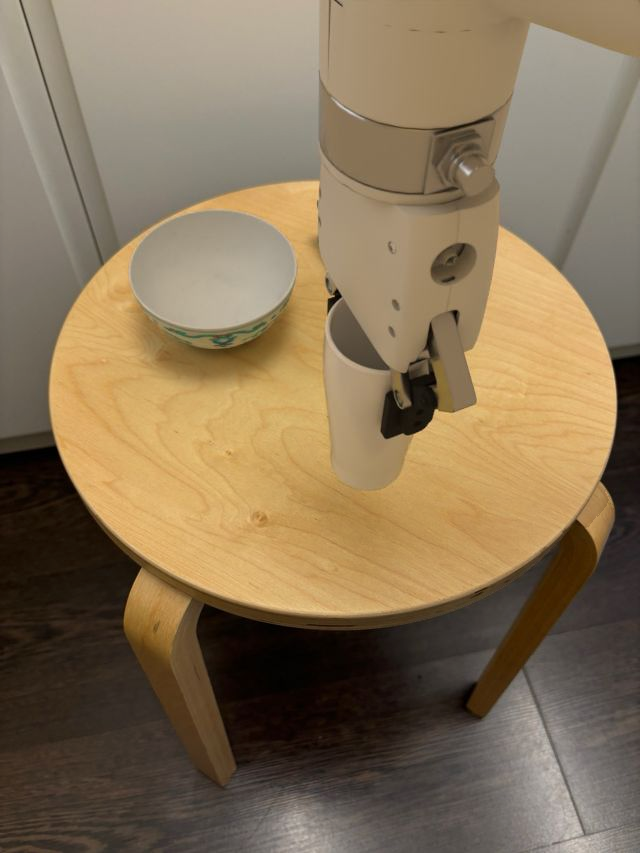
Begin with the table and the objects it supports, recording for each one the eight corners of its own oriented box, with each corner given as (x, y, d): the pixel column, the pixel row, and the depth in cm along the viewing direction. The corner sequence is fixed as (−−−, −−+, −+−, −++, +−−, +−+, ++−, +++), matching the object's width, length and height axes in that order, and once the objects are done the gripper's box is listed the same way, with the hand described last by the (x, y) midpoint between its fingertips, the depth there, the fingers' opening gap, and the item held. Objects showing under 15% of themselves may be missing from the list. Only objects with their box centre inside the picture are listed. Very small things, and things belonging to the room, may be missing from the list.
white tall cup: (310, 492, 50) (310, 361, 38) (332, 416, 54) (338, 273, 41) (403, 513, 50) (435, 386, 37) (419, 434, 53) (452, 294, 41)
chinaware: (122, 297, 71) (105, 238, 64) (257, 250, 75) (253, 191, 68) (178, 406, 64) (165, 353, 57) (323, 348, 68) (326, 292, 61)
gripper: (618, 225, 25) (504, 472, 40) (395, -2, 34) (369, 271, 49) (433, 285, 23) (386, 520, 38) (248, 31, 32) (268, 303, 47)
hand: (377, 379), depth 43 cm, fingers closed on white tall cup, 6 cm apart
